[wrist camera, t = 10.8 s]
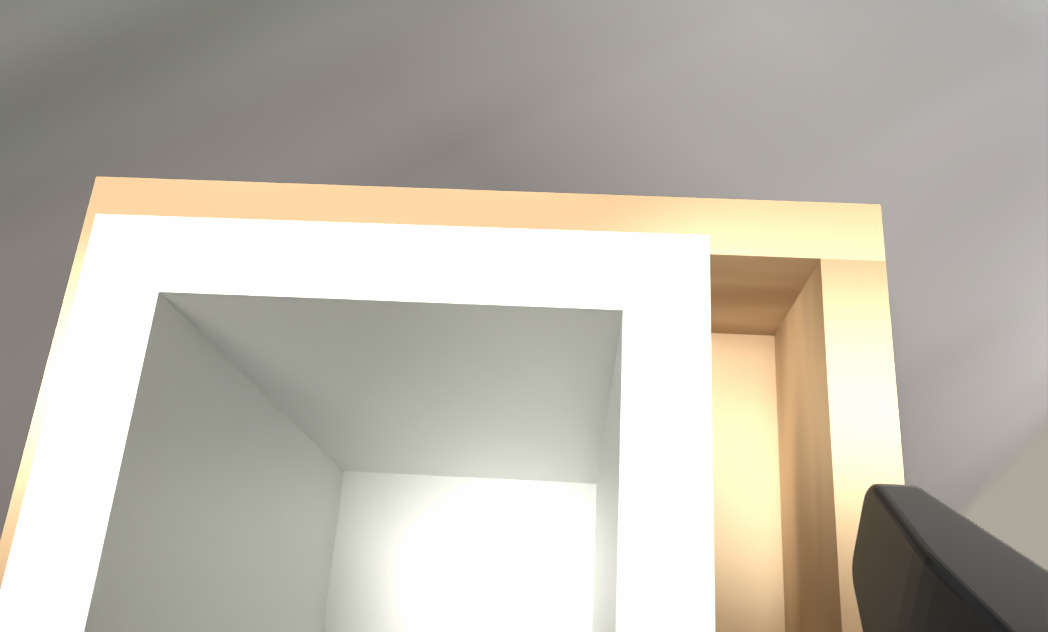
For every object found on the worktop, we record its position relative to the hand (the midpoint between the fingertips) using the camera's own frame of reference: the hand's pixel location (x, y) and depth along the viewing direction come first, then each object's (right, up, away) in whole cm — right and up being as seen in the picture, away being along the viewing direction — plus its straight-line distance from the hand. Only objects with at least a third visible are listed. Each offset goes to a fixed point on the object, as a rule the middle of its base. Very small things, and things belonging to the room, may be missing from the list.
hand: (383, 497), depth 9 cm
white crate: (0, -3, +7) cm, 8 cm away
